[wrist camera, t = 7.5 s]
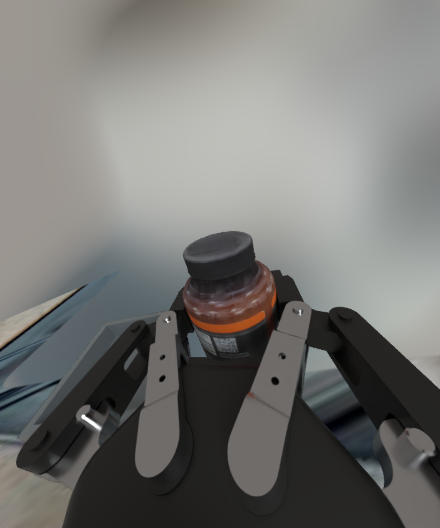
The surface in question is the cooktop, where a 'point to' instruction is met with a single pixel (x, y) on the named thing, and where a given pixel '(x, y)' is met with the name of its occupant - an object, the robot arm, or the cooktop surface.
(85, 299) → the cooktop surface
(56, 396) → the tray
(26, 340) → the cooktop surface
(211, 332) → the supplement bottle
